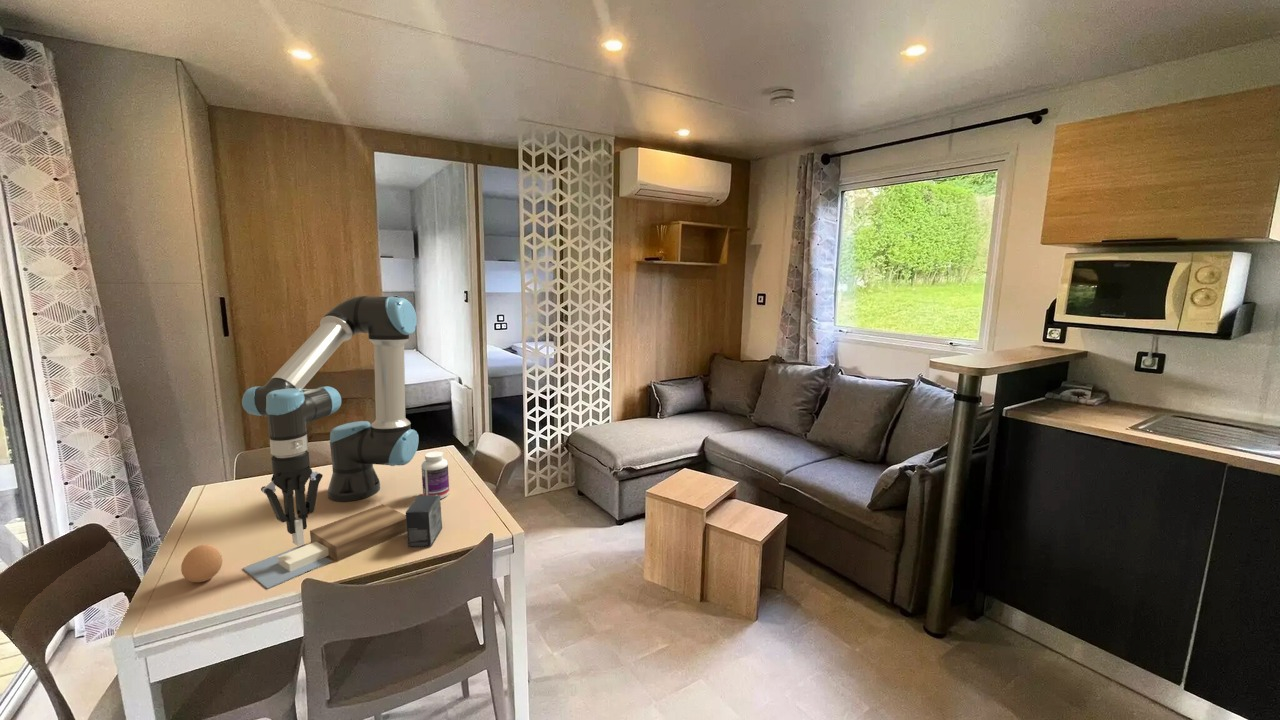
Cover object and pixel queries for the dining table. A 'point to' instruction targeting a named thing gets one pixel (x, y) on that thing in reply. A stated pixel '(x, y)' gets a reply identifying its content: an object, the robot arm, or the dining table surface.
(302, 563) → the cream butter stick
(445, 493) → the pill bottle
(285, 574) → the mat
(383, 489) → the dining table surface
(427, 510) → the small box
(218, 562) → the egg
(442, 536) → the dining table surface
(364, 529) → the wooden block
